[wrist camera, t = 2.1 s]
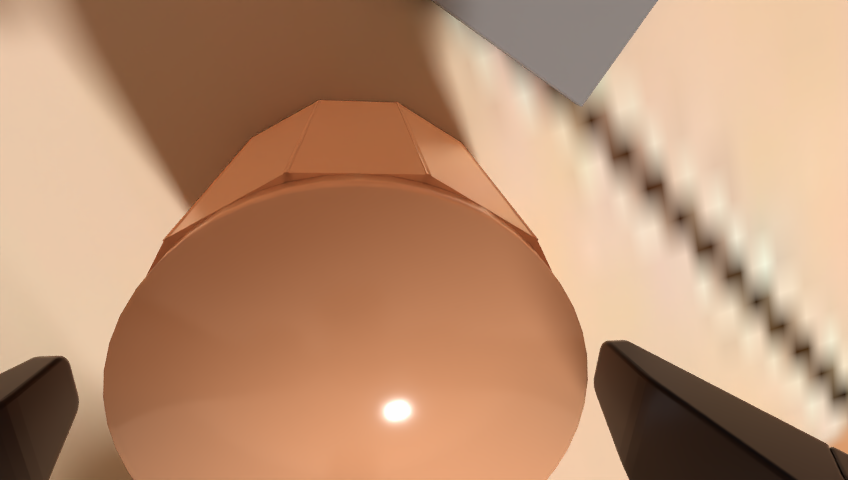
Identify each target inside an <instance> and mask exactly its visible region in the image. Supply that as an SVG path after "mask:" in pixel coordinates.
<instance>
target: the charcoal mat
mask: <svg viewBox="0 0 848 480" xmlns="http://www.w3.org/2000/svg"><path fill="white" fill-rule="evenodd" d="M431 1H433V2H434V3H436V4H437V5H438V6H440V7H441V8H442V9H444V10H445V11H447V12H448V13H449V14H451V15H452V16H454V17H455V18H456V19H458V20H459V21H461V22H462V23H463V24H465V25H466V26H468V27H469V28H470V29H472V30H473V31H475V32H476V33H477V34H479V35H480V36H482V37H483V38H484V39H486V40H487V41H489V42H490V43H491V44H493V45H494V46H496V47H497V48H498V49H500V50H501V51H503V52H504V53H505V54H507V55H508V56H509V57H511V58H512V59H514V60H515V61H516V62H518V63H519V64H521V65H522V66H523V67H525V68H526V69H528V70H529V71H530V72H532V73H533V74H535V75H536V76H537V77H539V78H540V79H542V80H543V81H544V82H546V83H547V84H549V85H550V86H551V87H553V88H554V89H556V90H557V91H558V92H560V93H561V94H563V95H564V96H565V97H567V98H568V99H570V100H571V101H572V102H574V103H575V104H577V105H579V106H583V104H584V103H585V102H586V100H587V99H588V97H589V96H590V95H591V93H592V92H593V90H594V89H595V88H596V86H597V85H598V83H599V82H600V81H601V79H602V78H603V76H604V75H605V74H606V72H607V71H608V69H609V68H610V67H611V65H612V64H613V62H614V61H615V60H616V58H617V57H618V55H619V54H620V53H621V51H622V50H623V48H624V47H625V46H626V44H627V43H628V41H629V40H630V39H631V37H632V36H633V34H634V33H635V32H636V30H637V29H638V27H639V26H640V25H641V23H642V22H643V20H644V19H645V18H646V16H647V15H648V13H649V12H650V11H651V9H652V8H653V6H654V5H655V4H656V2H657V1H658V0H431Z"/></svg>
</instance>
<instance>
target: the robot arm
mask: <svg viewBox="0 0 848 480" xmlns="http://www.w3.org/2000/svg"><path fill="white" fill-rule="evenodd" d="M594 388H595V392H596V395H597V398H598V400H599V403H600V406H601V408H602V411H603V414H604V417H605V419H606V422H607V425H608V427H609V430H610V433H611V436H612V438H613V441H614V444H615V446H616V449H617V452H618V455H619V457H620V460H621V462H622V465H623V467H624V469H625V471H626V473H627V476H628V478H629V480H848V454H846V453H844V452H842V451H840V450H838V449H836V448H834V447H831V448H829V446H828V445H827V444H826V443H824V442H822V441H820V440H819V439H817V438H815V437H813V436H811V435H809V434H807V433H805V432H803V431H801V430H799V429H797V428H795V427H793V426H791V425H789V424H788V423H786V422H784V421H782V420H780V419H778V418H776V417H774V416H772V415H770V414H768V413H766V412H764V411H762V410H760V409H758V408H757V407H755V406H753V405H751V404H749V403H747V402H745V401H743V400H741V399H739V398H737V397H735V396H733V395H731V394H729V393H727V392H726V391H724V390H722V389H720V388H718V387H716V386H714V385H712V384H710V383H708V382H706V381H704V380H702V379H700V378H698V377H696V376H695V375H693V374H691V373H689V372H687V371H685V370H683V369H681V368H679V367H677V366H675V365H673V364H671V363H669V362H667V361H666V360H664V359H662V358H660V357H658V356H656V355H654V354H652V353H650V352H648V351H646V350H644V349H642V348H640V347H638V346H636V345H635V344H633V343H631V342H629V341H625V340H616V341H605V342H604V343H603V344H602V346H601V348H600V352H599V357H598V362H597V366H596V371H595V376H594ZM78 405H79V398H78V393H77V389H76V385H75V382H74V378H73V374H72V370H71V366H70V364H69V361H68V360H67V359H66V358H65V357H63V356H41V357H34V358H32V359H30V360H28V361H26V362H24V363H22V364H20V365H18V366H15V367H13V368H11V369H9V370H7V371H5V372H3V373H1V374H0V480H49V478H50V476H51V473H52V471H53V469H54V466H55V464H56V461H57V459H58V457H59V454H60V452H61V449H62V447H63V445H64V442H65V440H66V438H67V435H68V433H69V430H70V428H71V426H72V423H73V421H74V418H75V416H76V414H77V410H78Z"/></svg>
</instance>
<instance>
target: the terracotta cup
mask: <svg viewBox="0 0 848 480" xmlns="http://www.w3.org/2000/svg"><path fill="white" fill-rule="evenodd" d="M163 241H164V242H163V244H162V246H161V248H160V250H159V252H158V254H157V256H156V258H155V260H154V262H153V264H152V266H151V268H150V270H149V272H148V274H147V276H146V277H145V279H144V280H143V281H142V282H141V284H140V285H139V286H138V287H137V289H136V290H135V292H134V293H133V295H132V297H131V298H130V300H129V302H128V303H127V305H126V307H125V308H124V310H123V312H122V313H121V315H120V317H119V320H118V322H117V325H116V328H115V330H114V333H113V335H112V338H111V340H110V343H109V348H108V353H107V358H106V363H105V367H104V389H103V399H104V405H105V412H106V418H107V424H108V427H109V430H110V433H111V436H112V439H113V442H114V445H115V448H116V450H117V452H118V454H119V456H120V458H121V459H122V461H123V463H124V465H125V467H126V469H127V471H128V472H129V474H130V475H131V476H132V478H133V479H134V480H547V479H548V477H549V476H550V475H551V474H552V472H553V471H554V470H555V469H556V467H557V465H558V464H559V462H560V461H561V459H562V457H563V456H564V454H565V452H566V451H567V449H568V447H569V445H570V443H571V441H572V438H573V436H574V434H575V432H576V430H577V427H578V424H579V421H580V417H581V414H582V410H583V407H584V403H585V396H586V388H587V381H588V377H587V353H586V348H585V343H584V337H583V332H582V329H581V326H580V323H579V321H578V318H577V315H576V312H575V310H574V307H573V305H572V303H571V302H570V300H569V298H568V296H567V294H566V293H565V291H564V289H563V287H562V286H561V284H560V282H559V281H558V280H557V278H556V277H555V276H554V274H553V273H552V271H551V269H550V266H549V264H548V262H547V260H546V258H545V256H544V254H543V251H542V249H541V247H540V245H539V243H538V238H537V237H536V236H535V235H534V233H533V232H532V231H531V230H530V228H529V227H528V226H527V225H526V223H525V222H524V221H523V220H522V218H521V217H520V216H519V214H518V213H517V212H516V211H515V209H514V208H513V207H512V206H511V204H510V203H509V202H508V201H507V199H506V198H505V197H504V196H503V194H502V193H501V192H500V190H499V189H498V188H497V187H496V185H495V184H494V183H493V182H492V180H491V179H490V178H489V177H488V175H487V174H486V173H485V172H484V170H483V169H482V168H481V166H480V165H479V164H478V163H477V161H476V160H475V159H474V158H473V156H472V155H471V154H470V153H469V151H468V150H467V149H466V148H465V146H464V145H463V144H462V143H461V141H458V140H456V139H455V138H453V137H452V136H450V135H449V134H447V133H445V132H444V131H442V130H441V129H439V128H437V127H436V126H434V125H433V124H431V123H430V122H428V121H426V120H425V119H423V118H422V117H420V116H418V115H417V114H415V113H414V112H412V111H411V110H409V109H407V108H406V107H404V106H403V105H401V104H400V103H399V102H367V101H334V100H321V99H320V100H317V102H315V103H313V104H311V105H309V106H308V107H306V108H304V109H302V110H301V111H299V112H297V113H295V114H293V115H292V116H290V117H288V118H286V119H284V120H283V121H281V122H279V123H277V124H276V125H274V126H272V127H270V128H268V129H267V130H265V131H263V132H261V133H260V134H258V135H256V136H254V137H252V138H251V139H250V140H249V141H248V142H247V143H246V145H245V146H244V147H243V148H242V149H241V150H240V151H239V153H238V154H237V155H236V156H235V157H234V158H233V160H232V161H231V162H230V163H229V164H228V165H227V167H226V168H225V169H224V170H223V171H222V172H221V173H220V175H219V176H218V177H217V178H216V179H215V180H214V182H213V183H212V184H211V185H210V186H209V187H208V188H207V190H206V191H205V192H204V193H203V194H202V195H201V197H200V198H199V199H198V200H197V201H196V202H195V203H194V205H193V206H192V207H191V208H190V209H189V210H188V212H187V213H186V214H185V215H184V216H183V217H182V219H181V220H180V221H179V222H178V223H177V224H176V225H175V227H174V228H173V229H172V230H171V231H170V232H169V234H168V235H167V236H166V237H165V238H164V239H163Z"/></svg>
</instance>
